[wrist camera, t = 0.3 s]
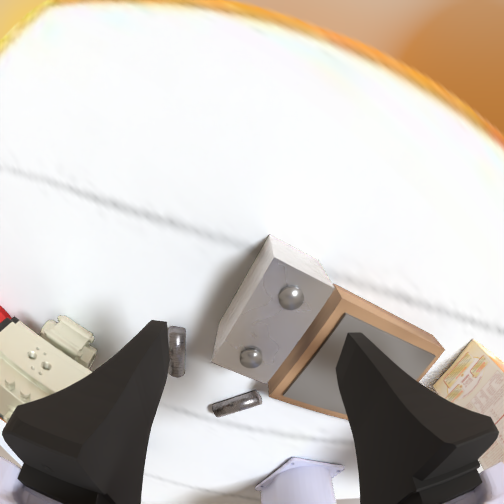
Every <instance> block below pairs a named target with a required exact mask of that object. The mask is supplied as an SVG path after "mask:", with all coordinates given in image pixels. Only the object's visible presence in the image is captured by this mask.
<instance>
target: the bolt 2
mask: <svg viewBox="0 0 504 504" xmlns="http://www.w3.org/2000/svg"><path fill="white" fill-rule="evenodd" d="M260 404H262V398H261V396H260V395H259V393H258V392H257V391H256V390H255V391H252V392H249V393H246V394H243V395H240V396H237V397H234V398H231V399H228V400H225V401H222V402H218V403H215V404H213V406H212V408H213V412H214V414H215V416H216V417H221V416H225V415H228V414H232V413H235V412H238V411H242V410H245V409H248V408H251V407H254V406H257V405H260Z"/></svg>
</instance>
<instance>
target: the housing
mask: <svg viewBox="0 0 504 504" xmlns="http://www.w3.org/2000/svg"><path fill="white" fill-rule="evenodd" d="M334 289H335V287H334V286H333V284H332V282H331V281H330V279H329V277H328V275H327V274H326V272H325V270H324V269H323V267H322V265H321V264H320V262H319V260H317V259H315V258H313V257H312V256H310V255H308V254H306V253H304V252H302V251H300V250H298V249H297V248H295V247H293V246H291V245H289V244H287V243H285V242H283V241H281V240H279V239H278V238H276V237H274V236H272V235H270V234H269V236H268V238H267V240H266V241H265V243H264V245H263V247H262V249H261V250H260V252H259V254H258V256H257V257H256V259H255V261H254V263H253V264H252V266H251V268H250V270H249V271H248V273H247V275H246V277H245V279H244V280H243V282H242V284H241V286H240V287H239V289H238V291H237V293H236V294H235V296H234V298H233V300H232V301H231V303H230V305H229V307H228V308H227V310H226V312H225V314H224V315H223V317H222V319H221V321H220V322H219V325H218V330H217V336H216V341H215V346H214V351H213V356H212V361H211V362H212V363H215V364H217V365H219V366H222V367H224V368H227V369H229V370H231V371H234V372H236V373H239V374H241V375H244V376H246V377H249V378H252V379H254V380H257V381H260V382H262V383H265V384H267V382H268V381H269V380H270V379H271V377H272V376H273V375H274V373H275V372H276V371H277V370H278V368H279V367H280V366H281V364H282V363H283V362H284V360H285V359H286V358H287V356H288V355H289V354H290V352H291V351H292V350H293V348H294V347H295V345H296V344H297V343H298V341H299V340H300V339H301V337H302V336H303V334H304V333H305V332H306V330H307V329H308V327H309V326H310V325H311V323H312V322H313V320H314V319H315V317H316V316H317V315H318V313H319V312H320V310H321V309H322V307H323V306H324V304H325V303H326V301H327V300H328V298H329V297H330V295H331V294H332V292H333V291H334Z"/></svg>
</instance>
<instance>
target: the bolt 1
mask: <svg viewBox="0 0 504 504" xmlns="http://www.w3.org/2000/svg"><path fill="white" fill-rule="evenodd" d="M185 338H186V330H185V328H182V327H176V326H171V327H169V328H168V343H169V354H170V363H169V374H170V375H171V376H173V377H181V376H183V375H184V373H185Z"/></svg>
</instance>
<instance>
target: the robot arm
mask: <svg viewBox="0 0 504 504" xmlns="http://www.w3.org/2000/svg"><path fill="white" fill-rule="evenodd" d="M169 363H170V354H169V343H168V332H167V322H164V321H155V320H151V321H150V322H149V323H148V324H147V325H146V326H145V327H144V328H143V329H142V330H141V331H140V332H139V333H138V334H137V335H136V336H135V337H134V338H133V339H132V340H131V341H130V342H129V343H128V344H126V345H125V346H124V347H123V348H122V349H121V350H120V351H119V352H118V353H117V354H115V355H114V356H113V357H112V358H110V359H109V360H108V361H107V362H106V363H104V364H103V365H102V366H100V367H99V368H98V369H96V370H95V371H94V372H92V373H91V374H89V375H88V376H86V377H84V378H83V379H81V380H79V381H77V382H75V383H74V384H72V385H70V386H68V387H66V388H64V389H62V390H60V391H58V392H56V393H53V394H51V395H49V396H46V397H44V398H41V399H38V400H35V401H32V402H28V403H25V404H22V405H18V406H17V407H16V408H15V410H14V412H13V413H12V415H11V417H10V419H9V420H8V422H7V424H6V426H5V428H4V429H3V431H2V435H3V438H4V440H5V442H6V443H7V444H8V446H9V447H10V448H11V449H12V450H13V451H14V453H15V454H16V455H17V456H18V457H19V458H20V459H21V460H22V461H23V463H24V464H23V466H22V469H21V468H19V467H18V466H17V465H15V464H14V463H12V462H10V461H8V460H7V459H5V458H3V457H1V456H0V504H141V491H142V482H143V473H144V465H145V459H146V452H147V446H148V441H149V435H150V431H151V427H152V423H153V420H154V417H155V414H156V411H157V408H158V405H159V401H160V398H161V395H162V392H163V389H164V386H165V383H166V379H167V374H168V369H169ZM335 369H336V375H337V381H338V387H339V391H340V394H341V398H342V401H343V404H344V407H345V411H346V414H347V417H348V420H349V423H350V427H351V430H352V434H353V438H354V443H355V449H356V455H357V463H358V471H359V483H360V504H504V464H503V462H499V463H497V464H495V465H493V466H491V467H489V468H487V469H486V470H484V471H482V472H481V473H480V474H479V473H478V471H477V468H479V467H480V463H479V461H478V459H479V458H480V457H481V456H482V455H483V454H484V453H485V452H486V451H487V450H488V449H489V448H490V447H491V445H492V444H493V443H494V442H495V441H496V439H497V438H498V435H499V431H498V429H497V427H496V425H495V424H494V422H493V420H492V418H491V417H489V416H486V415H483V414H480V413H477V412H474V411H471V410H468V409H466V408H463V407H461V406H459V405H456V404H454V403H452V402H450V401H448V400H446V399H444V398H443V397H441V396H439V395H437V394H436V393H434V392H432V391H431V390H429V389H428V388H426V387H425V386H423V385H422V384H420V383H419V382H417V381H416V380H415V379H413V378H412V377H411V376H410V375H408V374H407V373H406V372H405V371H403V370H402V369H401V368H400V367H399V366H397V365H396V364H395V363H394V362H393V361H392V360H391V359H390V358H389V357H387V356H386V355H385V354H384V353H383V352H382V351H381V350H380V349H379V348H378V347H377V346H376V345H375V344H374V343H373V342H371V341H370V340H369V339H368V338H367V337H366V336H365V335H364V334H362V333H361V332H348V333H347V336H346V339H345V342H344V345H343V348H342V351H341V354H340V357H339V360H338V363H337V365H336V368H335ZM343 470H344V466H343V465H336V464H329V463H323V462H317V461H311V460H306V459H301V458H292V459H290V460H289V461H288V462H287V463H285V464H284V465H283V466H282V467H280V468H279V469H278V470H277V471H275V472H274V473H273V474H272V475H270V476H269V477H268V478H266V479H265V480H264V481H262V482H261V483H260V484H258V485H257V486H256V487H255V490H258V491H261V504H336V498H335V493H334V488H333V483H332V478H333V477H334V476H336V475H337V474H339V473H340V472H341V471H343Z"/></svg>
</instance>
